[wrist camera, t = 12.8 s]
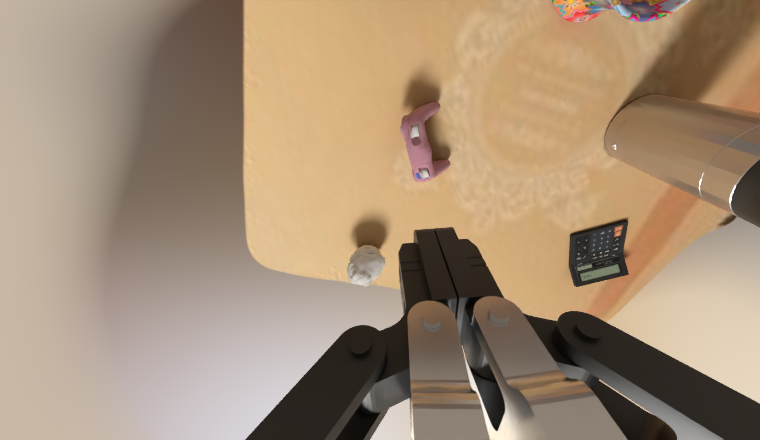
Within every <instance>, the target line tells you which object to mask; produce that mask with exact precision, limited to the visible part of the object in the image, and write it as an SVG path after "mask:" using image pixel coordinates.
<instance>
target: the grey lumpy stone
mask: <svg viewBox="0 0 760 440" xmlns="http://www.w3.org/2000/svg"><path fill="white" fill-rule="evenodd" d="M384 266H385V258H384V257H383V256H382V255H381V253H380V251H379V250H378V249H377V248H376V247H375V246H372V245H364V246H361V247H360V248H358V249H357V250H356V251H355V252H354V254H353V255H352V256H351V257H350V263H349V264H348V267H347V273H348V278H349V280H350V282H351V283H353V284H358V285H360V284H361V285H363V286H368V285H370V284H371V282H373V281H374V280H375V279H376V278H377V277H379V275H380V274H381V272H382V270H383V268H384Z"/></svg>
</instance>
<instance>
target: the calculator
mask: <svg viewBox="0 0 760 440" xmlns="http://www.w3.org/2000/svg"><path fill="white" fill-rule="evenodd" d="M627 226H628V221H627V220H623V221H619V222H616V223H612V224H608V225H604V226H601V227H597V228H593V229H590V230H586V231H582V232H578V233H575V234H571V235H570V250H569V268H570V272H571V276H572V279H573V283H574V286H576V287H579V286H583V285H587V284H591V283H595V282H599V281H604V280H608V279H612V278H616V277H620V276H625V275H629V274H628V270H627V266H626V263H625V259H624V255H623V248H624V243H625V237H626V231H627Z"/></svg>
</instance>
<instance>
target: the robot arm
mask: <svg viewBox="0 0 760 440" xmlns="http://www.w3.org/2000/svg"><path fill="white" fill-rule="evenodd" d="M605 148H606V150H607V152H608V154H609V155H611V156H612V157H614V158H616V159H618V160H620V161H622V162H624V163H626V164H628V165H630V166H632V167H634V168H636V169H639V170H641V171H643V172H645V173H647V174H649V175H651V176H653V177H655V178H657V179H659V180H662V181H664V182H666V183H668V184H670V185H672V186H674V187H676V188H678V189H680V190H683V191H685V192H687V193H689V194H691V195H693V196H695V197H697V198H699V199H701V200H703V201H706V202H708V203H710V204H712V205H714V206H716V207H718V208H721V209H723V210H725V211H727V212H729V213H731V214H733V215H735V216H737V217H740V218H742V219H744V220H746V221H749V222H750V223H752V224H754V225H756V226H758V227H760V113H756V112H751V111H745V110H740V109H734V108H729V107H724V106H718V105H713V104H707V103H702V102H697V101H691V100H687V99H681V98H675V97H670V96H664V95H659V94H653V95H647V96H643V97H641V98H639V99H636V100H634V101H633V102H631V103H630V104H628V105H627V106H626V107H624V108H623V109H622V110H621V111H620V112H619V113H618V114H617V115H616V116H615V117H614V119H613V120H612V122H611V123H610V125H609V127H608V129H607V131H606V135H605ZM399 278H400V288H401V295H402V302H403V311H404V315H403V317H402V318H401V320H400V321H399V322H398V323H396V324H395V325H393V326H391V327H389V328H386V329H384V330H381V331H378V330H377V329H376V328H374V327H371V326H367V325H360V326H355V327H352V328H350V329H348V330H347V331H345V332H344V333H343V334H342V335H341V336H340V337H339V338H338V339H337V340H336V341H335V342H334V343H333V345H332V346H331V347H330V348H329V349H328V350H327V351H326V352H325V353H324V355H323V356H322V357H321V358H320V359H319V360H318V361H317V362H316V363H315V364H314V365H313V366H312V368H311V369H310V370H309V371H308V372H307V373H306V374H305V375H304V376H303V377H302V378H301V380H300V381H299V382H298V383H297V384H296V385H295V386H294V387H293V388H292V389H291V391H290V392H289V393H288V394H287V395H286V396H285V397H284V398H283V399H282V400H281V401H280V402H279V404H278V405H277V406H276V407H275V408H274V409H273V410H272V411H271V412H270V414H268V416H267V417H266V418H265V419H264V420H263V421H262V422H261V423H260V424H259V425H258V426H257V428H256V429H255V430H254V431H253V432H252V433H251V434H250V435H249V436H248V437H247V439H246V440H370V439H371V437H372V435H373V434H374V432H375V430H376V429H377V427H378V426H379V424H380V422H381V421H382V419H383V418H384V416H385V414H386V413H387V411H388V409H389V408H390V407H392V406H393V405H396V404H398V403H400V402H402V401H404V400H406V399H408V398H410V418H411V419H410V420H411V440H760V404H759V403H757V402H756V401H754V400H752V399H750V398H748V397H746V396H744V395H742V394H740V393H738V392H737V391H735V390H733V389H731V388H729V387H727V386H725V385H723V384H722V383H720V382H718V381H716V380H714V379H712V378H710V377H708V376H706V375H705V374H703V373H701V372H699V371H697V370H695V369H693V368H691V367H689V366H688V365H686V364H684V363H682V362H680V361H678V360H676V359H674V358H672V357H670V356H669V355H667V354H665V353H663V352H661V351H659V350H657V349H655V348H653V347H652V346H650V345H648V344H646V343H644V342H642V341H640V340H638V339H636V338H635V337H633V336H631V335H629V334H627V333H625V332H623V331H621V330H619V329H618V328H616V327H614V326H611V325H610V324H608V323H606V322H604V321H602V320H601V319H599V318H597V317H595V316H592V315H590V314H587V313H584V312H578V311H569V312H565V313H563V314H562V315H561V316H560V317H559V318H558V320H557V321H553V320H548V319H543V318H538V317H533V316H529V315H526V314H524V313H522V311H521V310H520V309H519V308H518V307H517V306H516V305H515V304H514V303H512V302H511V301H509V300H507V299H505V298H504V297H503V295H502V293H501V291H500V289H499V288H498V286H497V284H496V282H495V280H494V278H493V276H492V274H491V272H490V271H489V269H488V267H487V266H486V263H485V261H484V259H483V258H482V255H481V253H480V252H479V250H478V248H477V246H475V245H474V244H473V243H472V242H471V241H469V240H468V239H458V237H457V235H456V233H455V230H454V228H453V227H449V228H435V229H422V230H414V243H405V244H402V246H401V248H400V251H399ZM462 346H463V349H464V352H465V358H464V354H463V349H462ZM599 379H600V380H602V381H603V382H605V383H606V384H608V385H609V386H611V387H612V388H614V389H615V390H617V391H619V392H620V393H622V394H623V395H625V396H626V397H628V398H629V399H631V400H632V401H634V402H635V403H637V404H638V405H640V406H641V407H643V408H644V409H646V410H648V411H649V412H651V413H652V414H654V415H652V414H650V413H648V412H646V411H644V410H643V409H641V408H640V407H638V406H637V405H635V404H634V403H632V402H631V401H629V400H628V399H626V398H625V397H623V396H622V395H620V394H619V393H617V392H616V391H614V390H612V389H611V388H609V387H608V386H606V385H605V384H603V383H602V382H600V381H599ZM488 433H489V434H488ZM489 436H490V439H489Z"/></svg>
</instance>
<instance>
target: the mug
mask: <svg viewBox="0 0 760 440" xmlns="http://www.w3.org/2000/svg"><path fill="white" fill-rule="evenodd" d="M689 1H690V0H552V2H553V5H554V8H555V10H556V11H557V13H558V14H559V15H560V16H561V17H562V18H564V19H566V20H568V21H571V22H583V21H587V20H590V19H592V18H594V17H596V16H598V15H600V14H601V13H603V12H604V11H605V10H607V9H614V10H616V11H617V12H618V13H619V14H620V15H622V16H623V17H625V18H627V19H629V20H632V21H637V22H646V21H653V20H657V19H660V18H662V17H665V16H667V15H669V14H671V13H673V12H675V11H676V10H678V9H679V8H681V7H682V6H684V5H685V4H686V3H688V2H689Z"/></svg>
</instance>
